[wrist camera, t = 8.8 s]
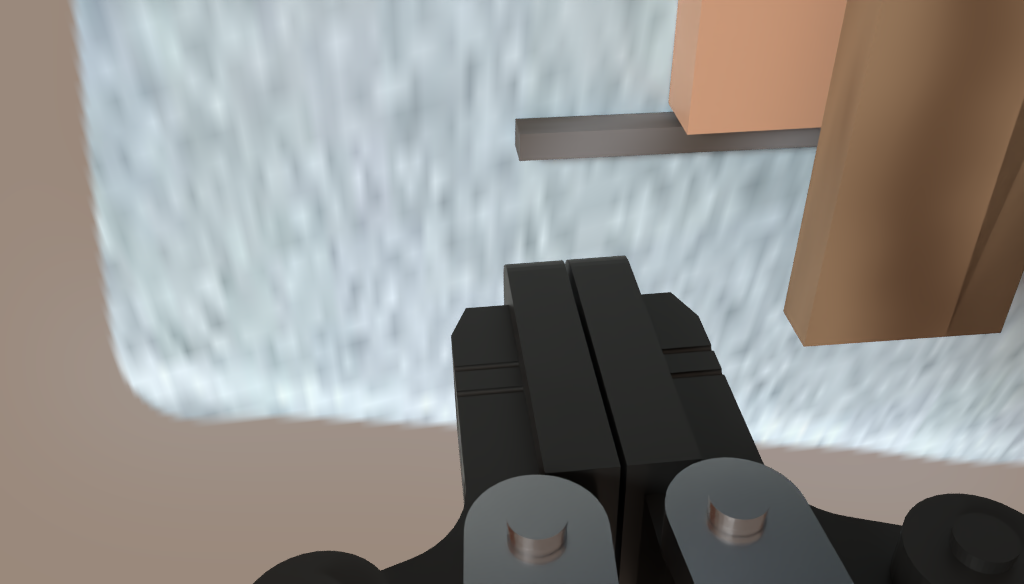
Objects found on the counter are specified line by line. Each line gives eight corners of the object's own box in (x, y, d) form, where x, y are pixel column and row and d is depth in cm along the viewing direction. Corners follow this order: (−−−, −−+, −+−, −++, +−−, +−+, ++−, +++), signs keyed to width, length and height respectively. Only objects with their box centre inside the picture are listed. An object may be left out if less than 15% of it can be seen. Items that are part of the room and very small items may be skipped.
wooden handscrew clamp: (1089, -378, 27) (1260, -372, 22) (915, 233, 39) (1000, 332, 34) (520, -381, 26) (558, -376, 21) (514, 256, 37) (537, 364, 32)
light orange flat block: (935, -115, 31) (974, -96, 29) (887, 91, 35) (918, 121, 33) (688, -108, 30) (711, -87, 28) (668, 103, 34) (687, 134, 32)
